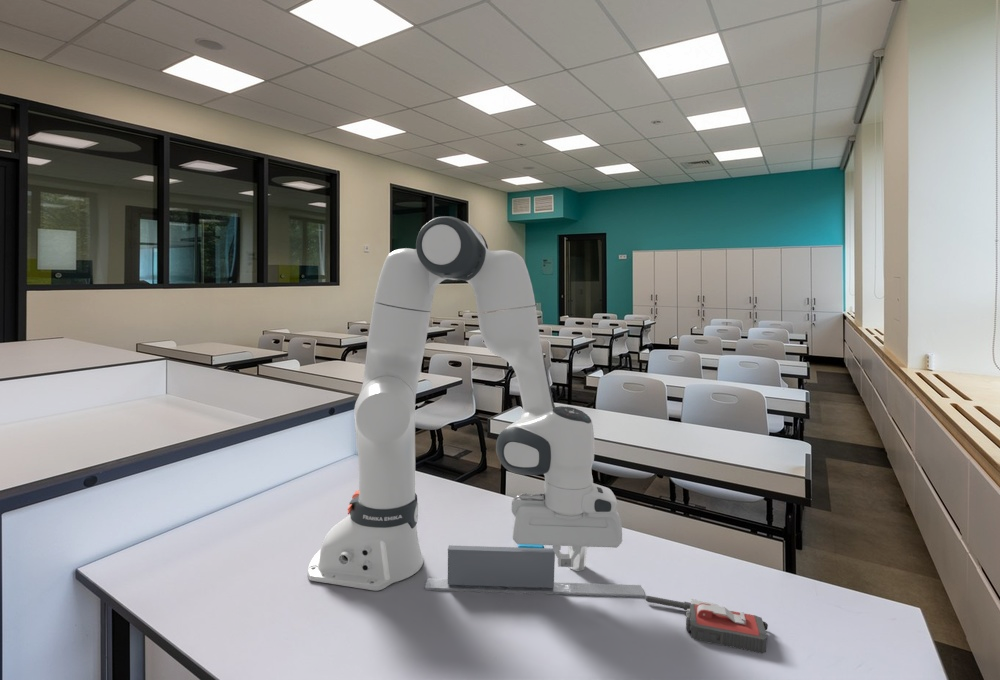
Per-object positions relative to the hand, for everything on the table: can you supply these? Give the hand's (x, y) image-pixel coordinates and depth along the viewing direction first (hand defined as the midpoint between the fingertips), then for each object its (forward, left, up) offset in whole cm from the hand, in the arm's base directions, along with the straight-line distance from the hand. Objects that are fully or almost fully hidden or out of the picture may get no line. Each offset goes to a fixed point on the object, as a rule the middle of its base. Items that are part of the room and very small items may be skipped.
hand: (565, 565), depth 99 cm
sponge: (-6, +21, -6) cm, 22 cm away
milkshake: (+4, +8, -5) cm, 10 cm away
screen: (-12, 0, -5) cm, 13 cm away
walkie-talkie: (+23, -9, -6) cm, 26 cm away
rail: (-6, 0, -5) cm, 8 cm away
